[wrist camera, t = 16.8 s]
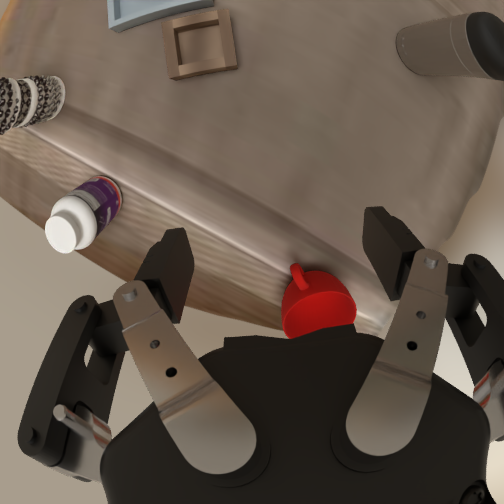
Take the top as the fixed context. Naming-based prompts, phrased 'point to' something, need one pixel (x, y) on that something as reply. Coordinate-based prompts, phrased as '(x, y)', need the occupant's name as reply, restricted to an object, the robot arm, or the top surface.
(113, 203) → the pill bottle
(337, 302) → the ceramic cup
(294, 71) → the top surface
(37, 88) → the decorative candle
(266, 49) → the top surface
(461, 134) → the top surface
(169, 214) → the top surface
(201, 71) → the square wooden frame
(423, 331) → the robot arm
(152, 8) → the tray
